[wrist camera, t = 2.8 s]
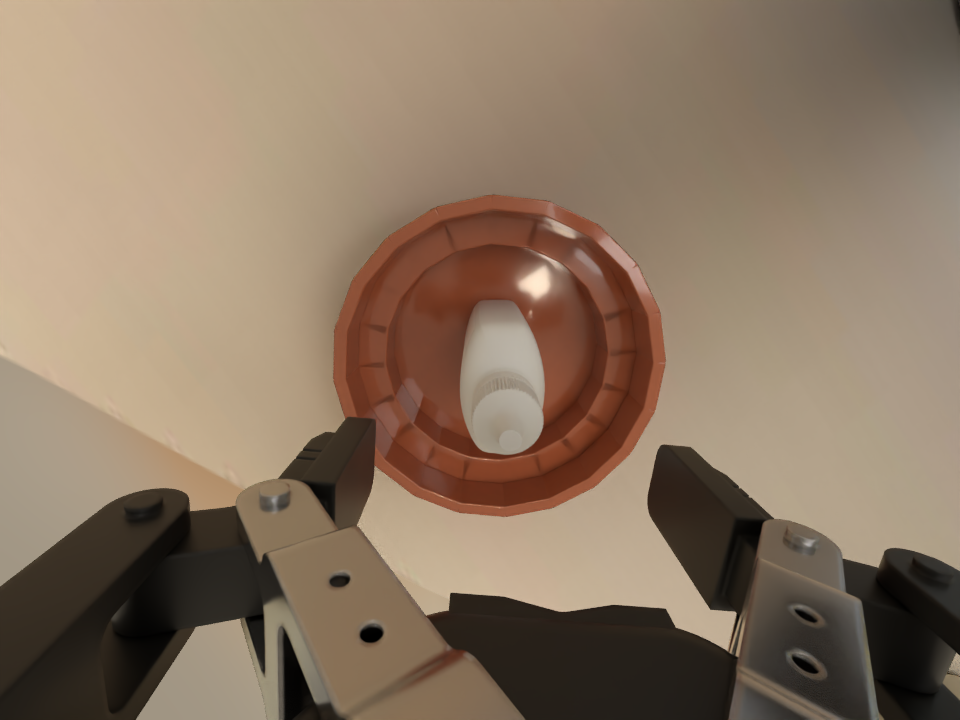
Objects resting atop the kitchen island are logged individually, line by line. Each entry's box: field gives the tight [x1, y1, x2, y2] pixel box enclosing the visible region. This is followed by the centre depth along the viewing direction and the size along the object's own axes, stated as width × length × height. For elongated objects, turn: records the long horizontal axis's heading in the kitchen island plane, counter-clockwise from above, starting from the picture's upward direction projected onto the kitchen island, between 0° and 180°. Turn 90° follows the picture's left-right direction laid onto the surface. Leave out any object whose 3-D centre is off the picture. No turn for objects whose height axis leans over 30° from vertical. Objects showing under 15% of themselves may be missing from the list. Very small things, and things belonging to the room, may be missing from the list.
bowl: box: [333, 195, 666, 517], centre depth 23 cm, size 15×15×5 cm
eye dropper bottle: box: [460, 300, 545, 455], centre depth 19 cm, size 4×6×12 cm
